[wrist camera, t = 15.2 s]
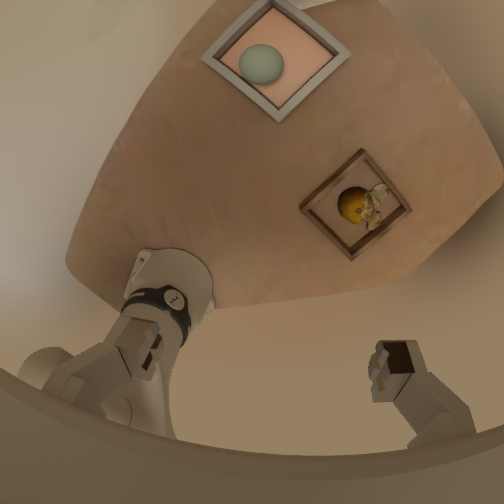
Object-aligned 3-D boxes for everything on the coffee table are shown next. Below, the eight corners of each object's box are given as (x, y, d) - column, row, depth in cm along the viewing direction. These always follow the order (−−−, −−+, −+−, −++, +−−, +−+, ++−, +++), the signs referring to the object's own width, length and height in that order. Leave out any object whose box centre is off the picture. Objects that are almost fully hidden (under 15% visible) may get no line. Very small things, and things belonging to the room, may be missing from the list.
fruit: (379, 229, 46) (385, 239, 43) (333, 223, 47) (336, 233, 44) (390, 183, 42) (397, 191, 39) (341, 175, 43) (345, 182, 40)
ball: (295, 76, 35) (270, 95, 33) (262, 69, 38) (236, 88, 36) (288, 39, 30) (260, 56, 28) (253, 36, 32) (224, 53, 31)
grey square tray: (279, 120, 40) (278, 122, 36) (207, 61, 36) (199, 58, 33) (346, 57, 33) (352, 54, 30) (272, -3, 30) (270, -12, 26)
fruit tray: (348, 254, 49) (351, 261, 47) (299, 205, 46) (300, 210, 44) (407, 204, 43) (412, 210, 41) (361, 148, 40) (365, 151, 38)
